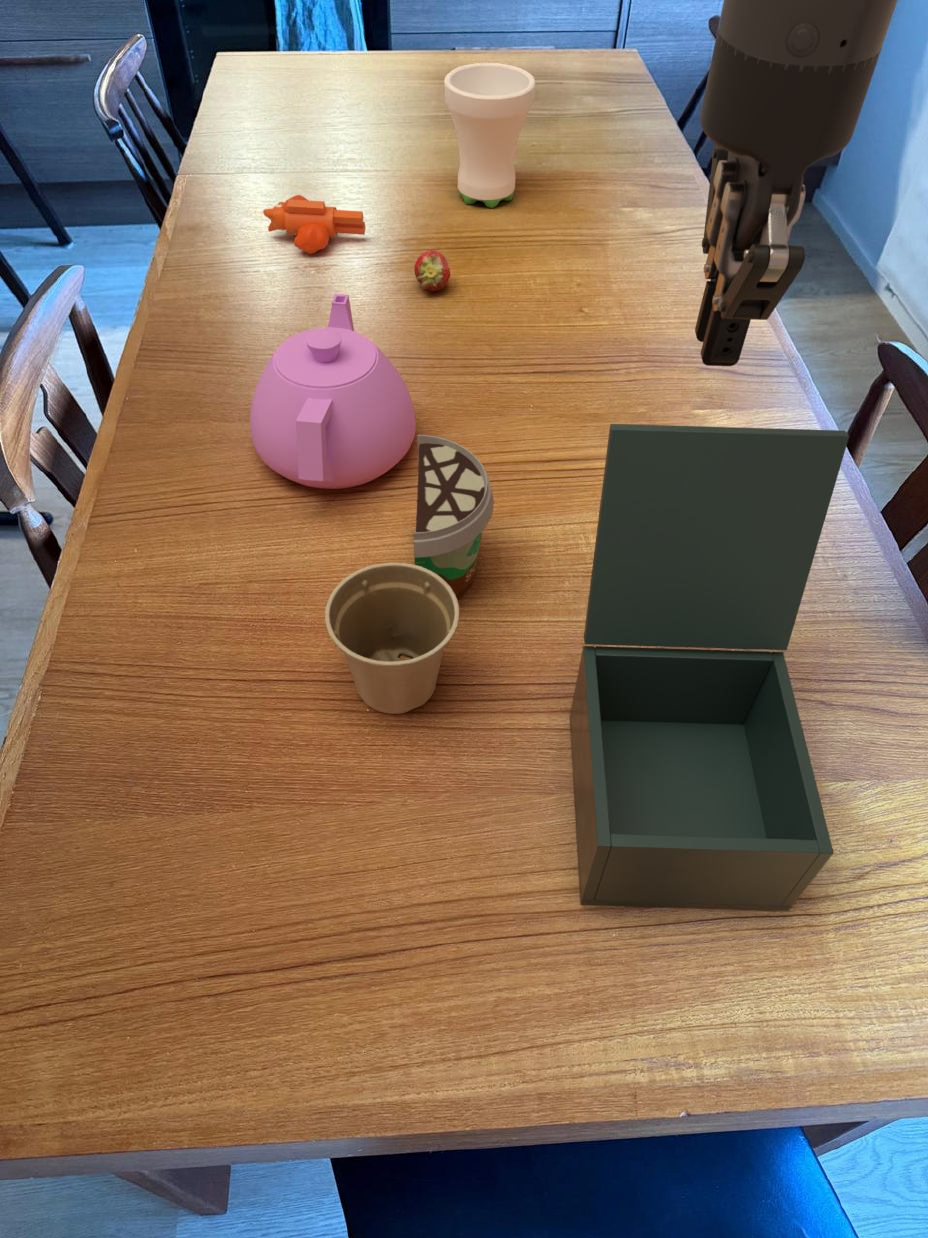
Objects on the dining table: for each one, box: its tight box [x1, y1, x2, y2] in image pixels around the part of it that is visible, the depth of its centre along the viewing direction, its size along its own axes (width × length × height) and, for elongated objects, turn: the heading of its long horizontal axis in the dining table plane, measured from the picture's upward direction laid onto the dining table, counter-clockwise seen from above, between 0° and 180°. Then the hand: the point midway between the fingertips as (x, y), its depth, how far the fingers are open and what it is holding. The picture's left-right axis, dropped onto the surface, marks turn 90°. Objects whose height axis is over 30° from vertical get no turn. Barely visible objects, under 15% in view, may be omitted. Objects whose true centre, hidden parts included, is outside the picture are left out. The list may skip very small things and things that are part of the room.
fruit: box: [413, 249, 451, 292], centre depth 104 cm, size 4×6×5 cm
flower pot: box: [324, 561, 460, 715], centre depth 66 cm, size 9×9×9 cm
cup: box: [443, 62, 536, 209], centre depth 115 cm, size 11×11×14 cm
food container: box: [412, 434, 495, 600], centre depth 73 cm, size 12×6×10 cm, turn 0°
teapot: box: [249, 293, 417, 490], centre depth 82 cm, size 22×16×12 cm
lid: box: [583, 423, 850, 651], centre depth 56 cm, size 16×14×1 cm
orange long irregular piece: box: [262, 194, 366, 255], centre depth 110 cm, size 5×8×12 cm
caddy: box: [569, 645, 834, 912], centre depth 60 cm, size 15×14×9 cm
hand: (715, 349), depth 55 cm, fingers closed
